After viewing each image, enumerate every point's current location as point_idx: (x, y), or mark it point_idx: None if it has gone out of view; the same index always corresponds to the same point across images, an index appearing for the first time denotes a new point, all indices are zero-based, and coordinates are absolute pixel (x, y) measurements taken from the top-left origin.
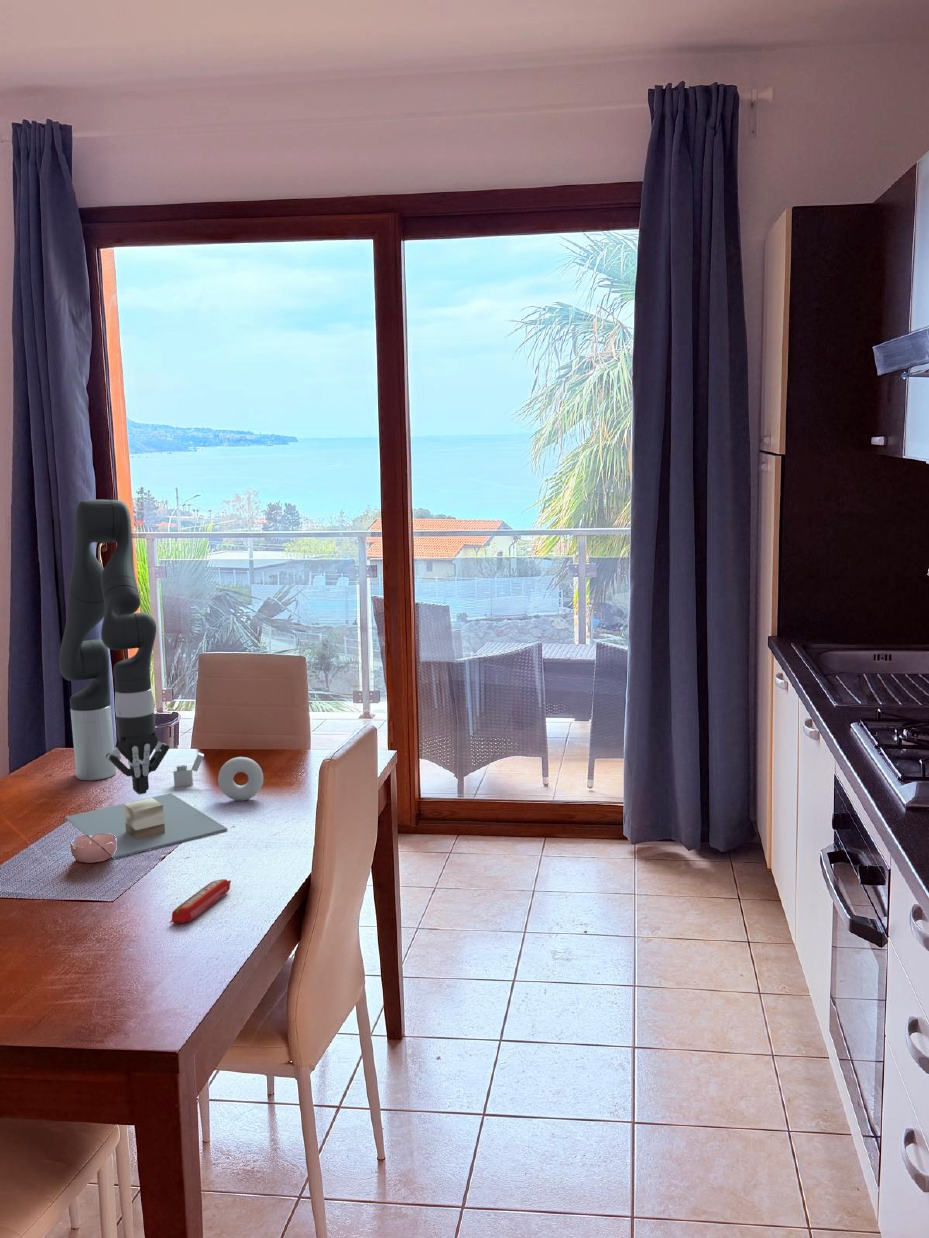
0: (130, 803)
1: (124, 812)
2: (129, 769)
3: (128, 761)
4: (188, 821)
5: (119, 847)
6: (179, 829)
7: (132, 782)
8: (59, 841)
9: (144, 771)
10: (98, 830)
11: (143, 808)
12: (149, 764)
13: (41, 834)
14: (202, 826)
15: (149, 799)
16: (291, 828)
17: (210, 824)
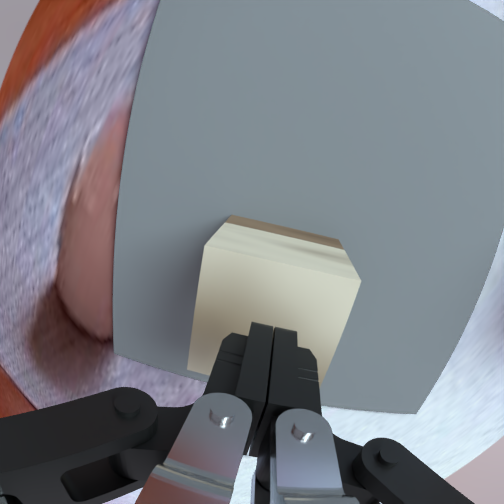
0: (231, 269)
1: (214, 234)
2: (146, 469)
3: (147, 490)
4: (420, 304)
5: (149, 318)
6: (355, 340)
7: (213, 366)
8: (72, 107)
9: (265, 491)
10: (174, 120)
11: None
12: (357, 497)
13: (77, 19)
14: (404, 367)
15: (335, 294)
16: (458, 458)
17: (424, 369)
